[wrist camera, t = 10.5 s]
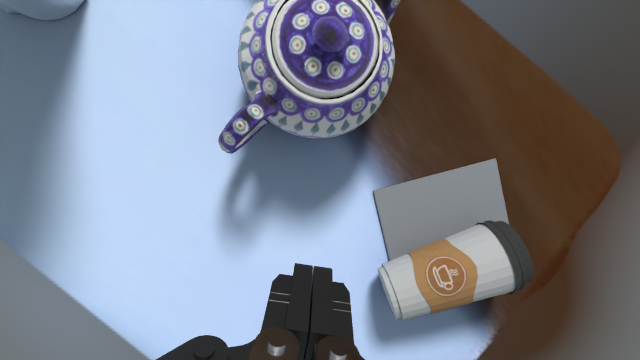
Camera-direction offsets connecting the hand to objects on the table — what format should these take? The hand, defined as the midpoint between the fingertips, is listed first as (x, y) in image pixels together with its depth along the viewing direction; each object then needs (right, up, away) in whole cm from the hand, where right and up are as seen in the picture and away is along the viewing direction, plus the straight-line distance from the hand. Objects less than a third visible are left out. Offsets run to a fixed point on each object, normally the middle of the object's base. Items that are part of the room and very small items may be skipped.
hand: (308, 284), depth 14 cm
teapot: (-1, +16, +27) cm, 32 cm away
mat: (+16, -2, +30) cm, 35 cm away
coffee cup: (+8, -9, +26) cm, 29 cm away
